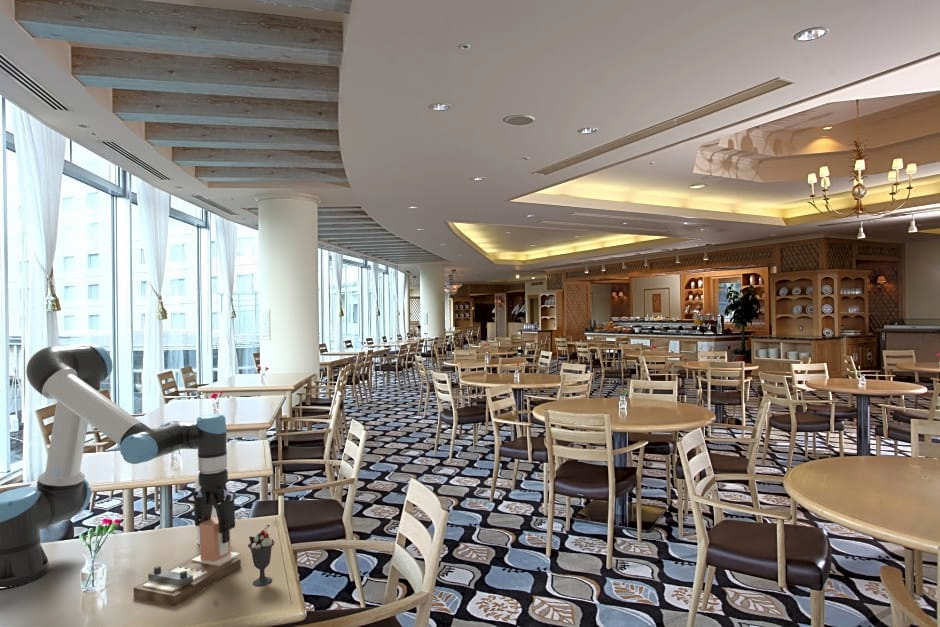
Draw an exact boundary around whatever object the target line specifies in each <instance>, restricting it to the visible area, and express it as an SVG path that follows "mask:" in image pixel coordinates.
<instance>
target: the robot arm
mask: <svg viewBox="0 0 940 627" xmlns="http://www.w3.org/2000/svg"><path fill="white" fill-rule="evenodd" d="M112 371H113V360H112V357H111V355H110V353H109V352H108V351H107V350H106V349H105V348H104V347H103V346H101V345H99V344H94V343H79V344H69V345H67V344H66V345H58V346H57V345H55V346H47V347H44V348H42V349H39V350H38V351H36V352H35V353H34V354H33V355H32V356H31V357H30V359H29V360H28V363H27V365H26V370H25V372H26V378H27V380H28V383H29V384H30V385H31V387H32V388H33V389H34V390H35V391H36V392H37V393H39V394H40V395H42V396H43V397H44V398H46V399H48V400H56V405H55V411H54V416H53V423H52V430H51V436H50V441H49V447H48V454H47V460H46V467H45V471H44V472H42V473H41V474H40V475H39V476H38V478H37V483H36V487H35V486H22V487H21V486H20V487H17V488H15V489H9V490H6V491H3V492H1V493H0V587H10V586H15V585H19V586H21V585H20V584H22V585H24V584H23V583H25V584H28V583H30V582H29V581H31V582H33V581H35V579H36V580H37V578H38V579H40V578H41V576H42V577H43V576H45V575H46V574H47V573H48V572H49V570H50V561H49V559H48V556H47V554H46V551H45V550H44V548H43V546H42V544H41V530H43V529H47V528H49V527H51V526H53V525H56V524H58V523H61V522H63V521H67V520H70V519H73V518H74V517H75V516H77V515H80V513H82V512H83V511H85V510H86V508H87V507H88V506H89V504H90V501H91V498H92V488H91V487H90V482H89V481H88V480H86V476H85V474H84V473H83V472H82V471H81V466H82V463H83V462H82V461H83V455H84V450H85V443H86V437H87V431H88V424H89V425H91V426H92V427H94V428H95V429H96V430H98V432H100V433H102V435H104V436H106V437H108V438H109V439H110V440H111V441H113V442H114V443H116V444H117V445H119V446H120V447H119V451H120V455H121V456H122V457H123V460H124V461H125V462H126V463H129V464H132V465H137V464H141V463H147V462H150V461H152V460H154V459H157V458H159V457H162V456H165V455H169V454H171V453H174V452H176V451H177V452H178V451H180V450H197V470H198V473H199V474H198V475H199V486H201V489H199V490H196V489H195V490H194V491H192V496H193V500H194V503H193V505H194V508H193V509H194V510H193V513H194V526H195V527H197V526H199V524H200V523H202V522H205V521H207V520H209V519H211V514H212V508H213V507H214V508H215V509H216V513H217V517H218V522H219V526H220V531H218V544H219V556H222V555H224V554H226V553H227V552H228V542H229V530H230V531H231V530H232V529H234V528H235V527H236V515H235V514H236V513H235V512H236V511H235V499H236V493H235V492H232V493H231V492H229V491H228V488H227V483H228V481H229V470H228V469H227V467H228V450H227V449H228V448H227V447H228V446H227V433H228V432H227V431H228V428H227V421H226V420H227V419H226V416H225V415H224V414H222V413H221V414H220V413H212V414H211V413H208V414H202V415H200V416H198V417H197V418H196V421H177V420H175V421H174V420H173V421H165V422H162V423H161V424H160V426H158V427H156V428H153V429H152V428H151V427H149V426H147V425H146V424H145V423H143V421H142V422H141V420H139V419H137V418H136V417H135V416H133V415H132V414H130V413H129V412H128V411H126V410H125V409H124V408H122V407H121V406H119V405H118V404H117V403H115V402H113V401H112V400H111V399H110V398H108V397H106V396H105V395H104V394H102V393H101V392H100V388H101V384H102V383H101V382H103V381H106V380H107V379H108V378H109V377H110V376H111V374H112ZM218 503H220V504H218ZM199 519H200V520H199ZM224 526H225V527H224ZM39 577H40V578H39ZM32 580H33V581H32ZM27 582H28V583H27ZM15 587H16V586H15Z"/></svg>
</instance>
